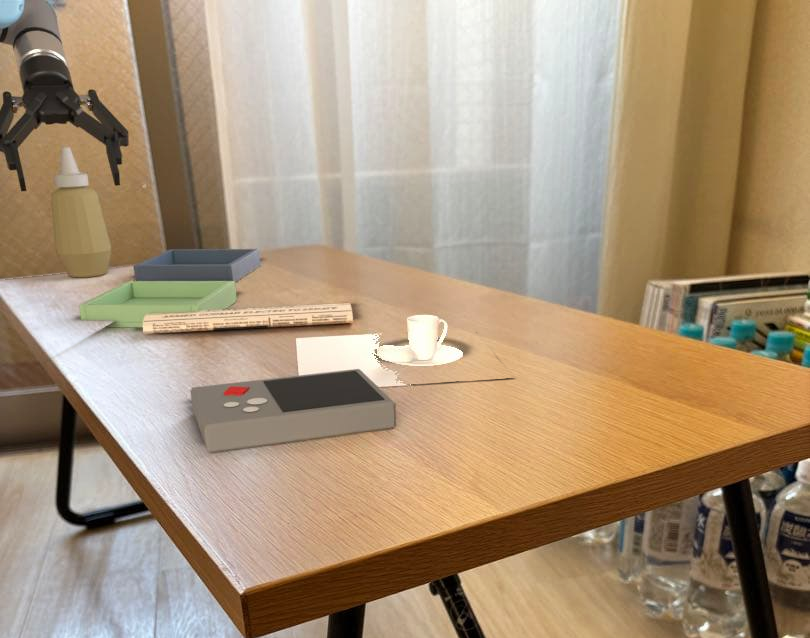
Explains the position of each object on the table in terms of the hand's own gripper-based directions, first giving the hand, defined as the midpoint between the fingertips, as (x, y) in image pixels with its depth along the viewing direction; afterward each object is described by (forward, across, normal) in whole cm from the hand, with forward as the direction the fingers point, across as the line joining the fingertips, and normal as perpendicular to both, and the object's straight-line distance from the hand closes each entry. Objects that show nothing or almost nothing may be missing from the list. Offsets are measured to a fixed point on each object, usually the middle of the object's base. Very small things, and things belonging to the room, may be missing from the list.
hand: (70, 182), depth 135 cm
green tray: (+36, -6, +17) cm, 40 cm away
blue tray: (+18, -15, 0) cm, 24 cm away
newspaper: (+44, -14, +25) cm, 53 cm away
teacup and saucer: (+59, -24, +40) cm, 75 cm away
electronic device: (+69, -9, +50) cm, 85 cm away
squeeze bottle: (+12, 0, -7) cm, 14 cm away
